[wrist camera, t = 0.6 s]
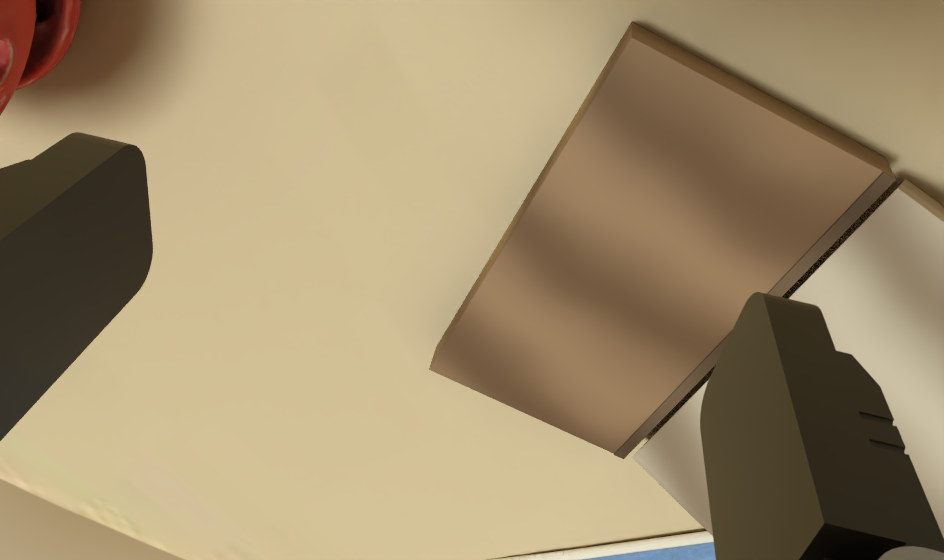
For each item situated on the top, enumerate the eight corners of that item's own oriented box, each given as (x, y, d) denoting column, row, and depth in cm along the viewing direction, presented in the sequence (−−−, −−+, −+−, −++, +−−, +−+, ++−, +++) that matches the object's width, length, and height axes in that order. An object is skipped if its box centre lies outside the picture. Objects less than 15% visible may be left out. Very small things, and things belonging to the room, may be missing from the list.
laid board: (631, 21, 25) (631, 38, 24) (884, 157, 26) (896, 179, 25) (436, 347, 35) (428, 370, 34) (624, 433, 37) (623, 459, 35)
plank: (905, 178, 26) (897, 188, 25) (1244, 428, 23) (1253, 452, 22) (645, 442, 36) (631, 458, 35) (855, 643, 33) (846, 668, 32)
